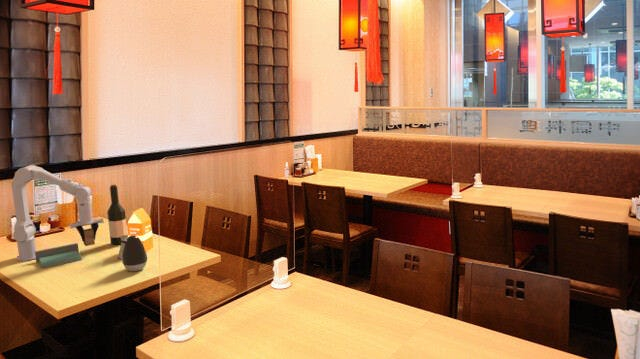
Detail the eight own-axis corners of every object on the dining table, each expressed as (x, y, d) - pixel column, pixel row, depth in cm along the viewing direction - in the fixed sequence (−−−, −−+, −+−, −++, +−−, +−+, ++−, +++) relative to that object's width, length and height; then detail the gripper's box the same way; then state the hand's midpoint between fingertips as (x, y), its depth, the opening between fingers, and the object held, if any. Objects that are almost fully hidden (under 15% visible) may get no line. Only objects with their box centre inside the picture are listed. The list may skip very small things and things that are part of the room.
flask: (128, 259, 234) (126, 238, 232) (114, 259, 235) (112, 238, 233) (137, 254, 241) (135, 234, 239) (123, 253, 242) (121, 233, 240)
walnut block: (83, 244, 242) (82, 229, 241) (92, 242, 245) (91, 228, 243) (85, 246, 239) (84, 231, 238) (94, 244, 241) (93, 230, 240)
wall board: (36, 261, 235) (34, 251, 234) (78, 253, 246) (77, 243, 245) (40, 268, 226) (39, 257, 225) (84, 259, 237) (82, 248, 236)
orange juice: (129, 252, 244) (125, 212, 240) (139, 246, 252) (134, 207, 248) (145, 253, 242) (140, 212, 239) (153, 247, 251) (150, 207, 247)
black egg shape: (118, 270, 221) (114, 236, 218) (141, 263, 228) (137, 230, 225) (129, 275, 214) (126, 240, 211) (152, 268, 221) (149, 234, 219)
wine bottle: (131, 242, 261) (125, 184, 255) (117, 246, 254) (111, 187, 248) (121, 239, 265) (115, 182, 259) (107, 244, 258) (100, 186, 252)
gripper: (70, 216, 231) (74, 245, 234) (104, 211, 240) (107, 238, 243) (67, 213, 237) (70, 241, 240) (100, 208, 246) (103, 235, 248)
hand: (88, 240), depth 241 cm, fingers closed on walnut block, 4 cm apart
